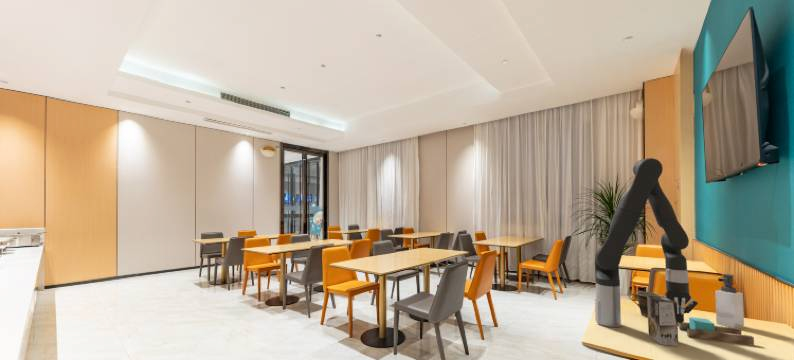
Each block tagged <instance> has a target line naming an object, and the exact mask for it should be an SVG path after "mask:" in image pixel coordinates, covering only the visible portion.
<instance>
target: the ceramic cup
mask: <svg viewBox="0 0 794 360" xmlns="http://www.w3.org/2000/svg"><path fill="white" fill-rule="evenodd" d="M631 296H634V297H635V298H636V300H637V302H638V303H637V302H636V301H635V300H634V299H632V298H631ZM647 296H662V295H661V294H658V293H655V292H649V291H637V292H636V293H630V294H629V295H628V298H629V299H630V300H631V301H632V302H634V304H635V305H637V307H638V308H639V311H640V314H641V316H642V317H645V318H648V306H647Z"/></svg>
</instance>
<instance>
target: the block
mask: <svg viewBox="0 0 794 360" xmlns="http://www.w3.org/2000/svg"><path fill="white" fill-rule="evenodd" d="M688 319H689V320H688V321H689V322H688V323H689V326H690V329H697V330H706V331H714V332H715V327H714V326H715V323H714V322H712V321H711V320H710V319H708V318H703V317H701V318H700V317H693V316H692V317H691V316H689V318H688Z"/></svg>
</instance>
